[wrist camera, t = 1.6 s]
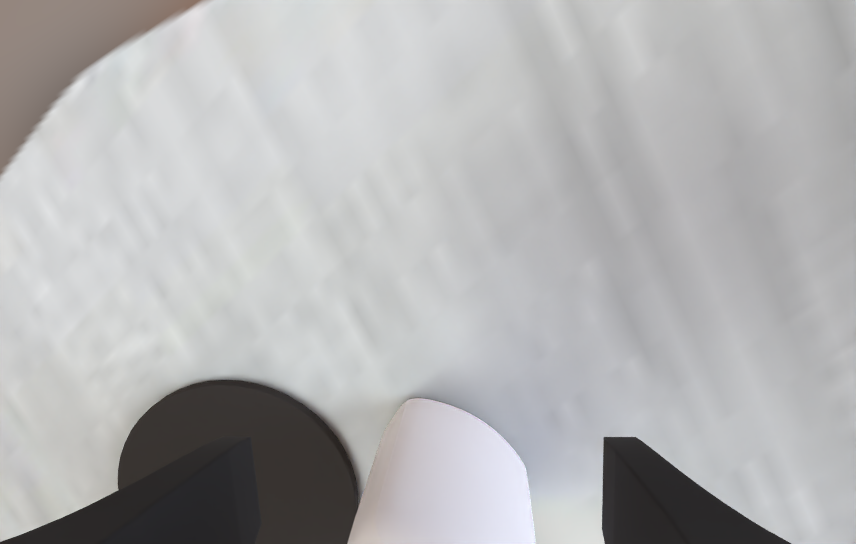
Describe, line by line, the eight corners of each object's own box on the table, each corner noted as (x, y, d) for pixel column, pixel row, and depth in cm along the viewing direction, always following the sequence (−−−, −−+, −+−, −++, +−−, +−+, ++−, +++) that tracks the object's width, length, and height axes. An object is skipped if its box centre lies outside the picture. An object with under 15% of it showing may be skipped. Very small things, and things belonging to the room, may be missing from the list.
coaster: (367, 597, 25) (365, 607, 25) (144, 592, 26) (138, 600, 26) (348, 378, 23) (345, 383, 22) (105, 380, 24) (97, 385, 23)
